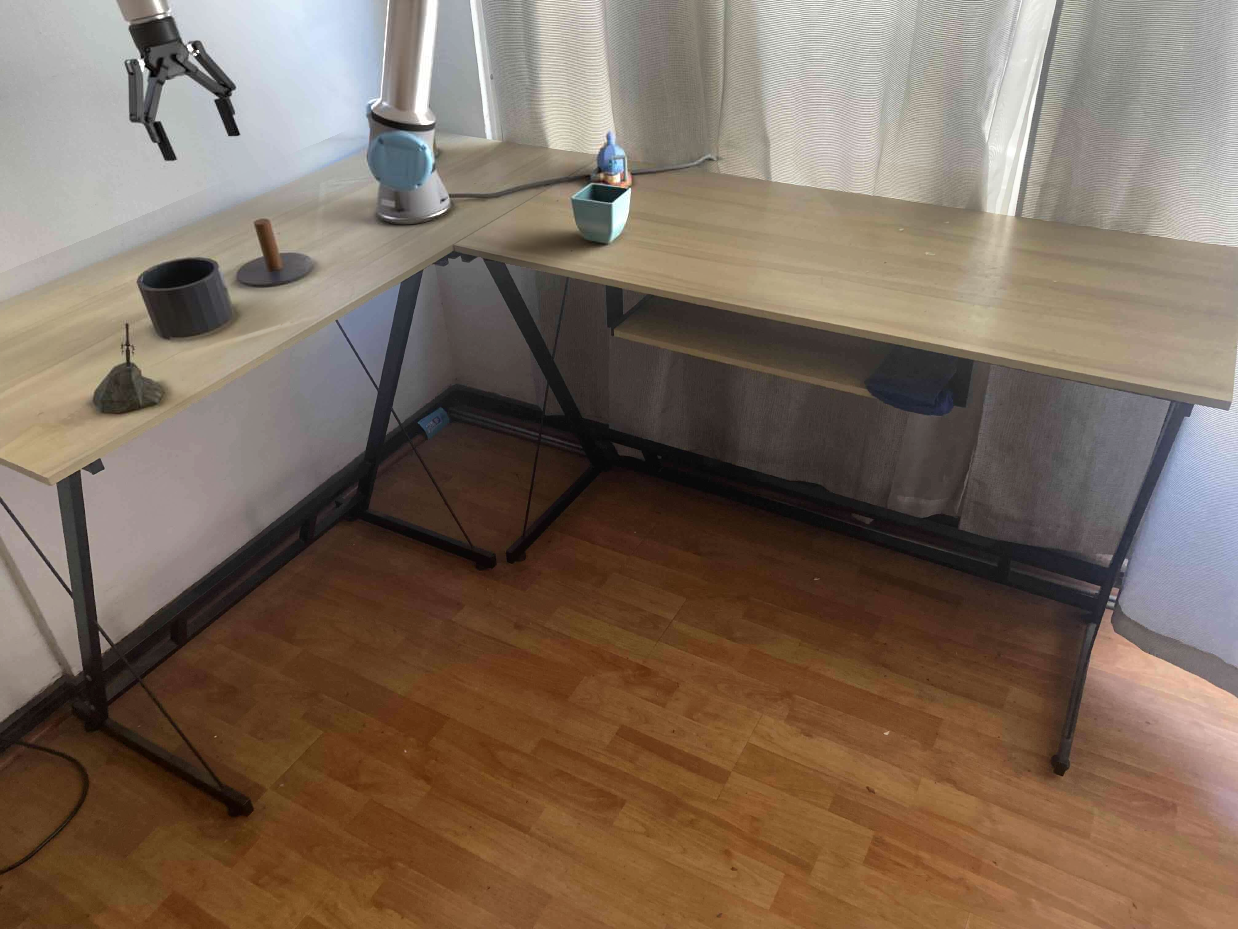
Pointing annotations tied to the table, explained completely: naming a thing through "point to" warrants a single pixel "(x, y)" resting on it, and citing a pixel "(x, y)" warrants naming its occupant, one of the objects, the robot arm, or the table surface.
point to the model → (611, 165)
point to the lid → (273, 262)
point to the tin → (185, 297)
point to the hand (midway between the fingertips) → (203, 147)
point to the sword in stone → (126, 387)
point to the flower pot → (601, 211)
